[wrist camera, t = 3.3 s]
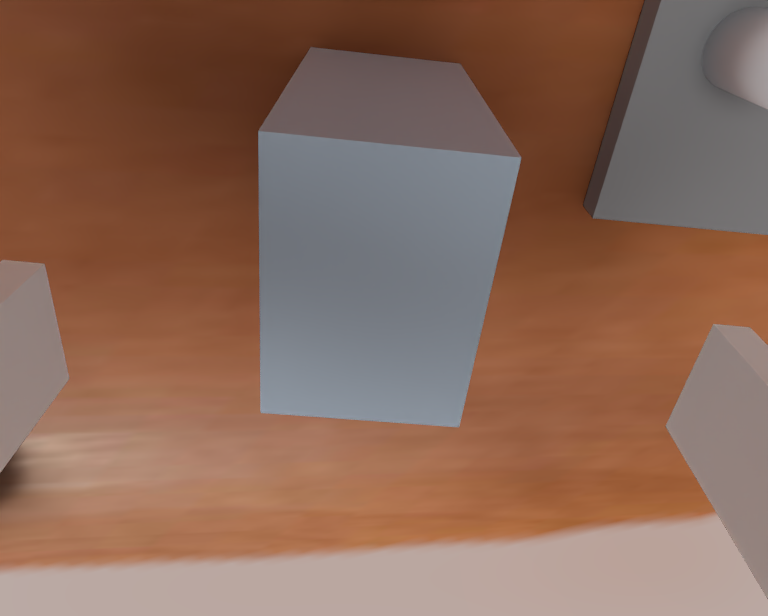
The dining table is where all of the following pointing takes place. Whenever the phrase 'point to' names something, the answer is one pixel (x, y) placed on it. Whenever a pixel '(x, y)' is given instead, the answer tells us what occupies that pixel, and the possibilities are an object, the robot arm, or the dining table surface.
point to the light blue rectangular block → (377, 237)
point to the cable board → (689, 120)
